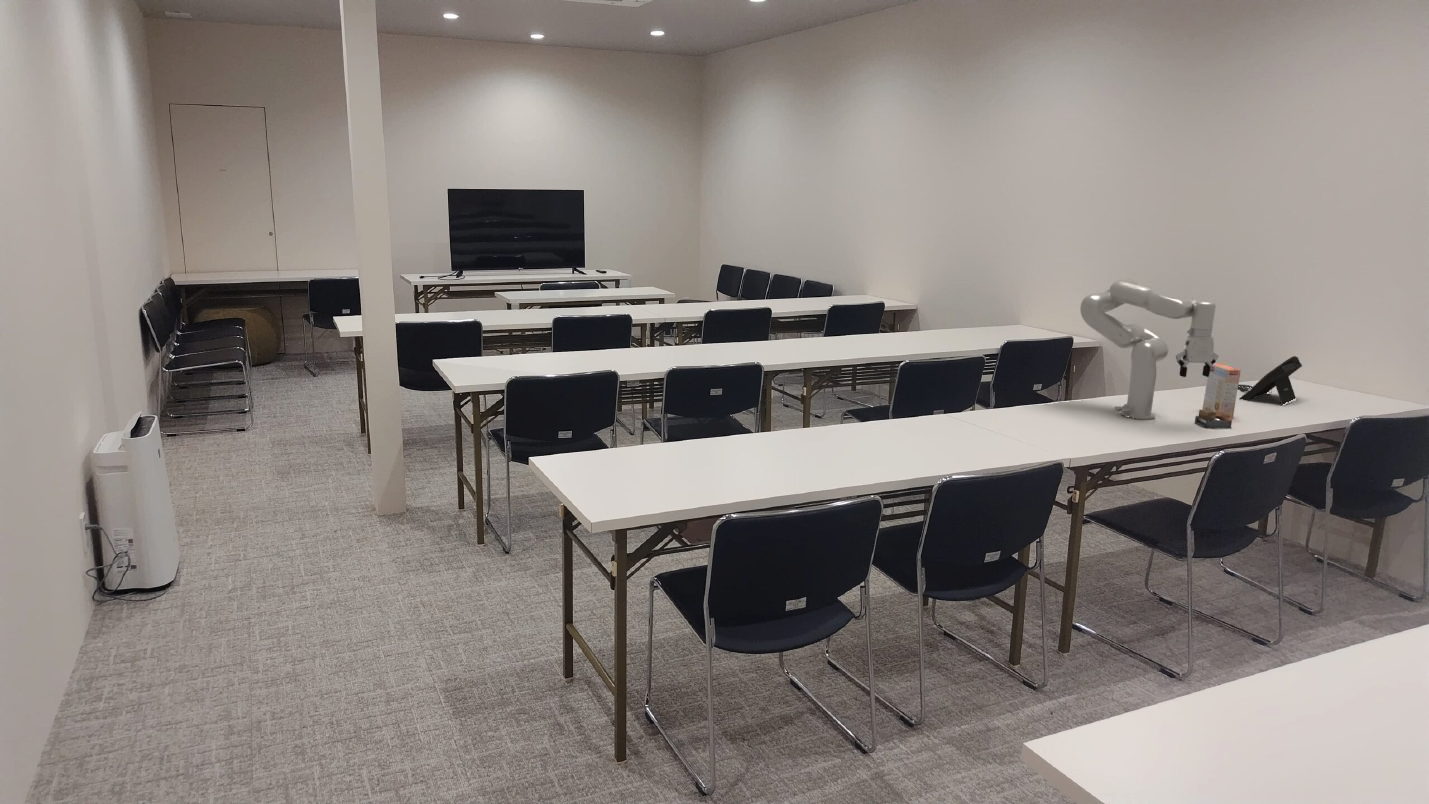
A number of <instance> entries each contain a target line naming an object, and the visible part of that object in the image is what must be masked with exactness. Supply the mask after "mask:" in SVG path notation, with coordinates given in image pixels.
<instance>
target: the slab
mask: <svg viewBox="0 0 1429 804" xmlns="http://www.w3.org/2000/svg"><path fill="white" fill-rule="evenodd" d="M1197 416H1198V417H1200V418H1202V419H1205V420H1215V417H1216V412H1214V411H1211V410H1209V409H1208V410H1202V409H1199V411H1198V415H1197Z"/></svg>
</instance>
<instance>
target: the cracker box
mask: <svg viewBox="0 0 1429 804" xmlns="http://www.w3.org/2000/svg"><path fill="white" fill-rule="evenodd" d="M1241 371H1242V370H1241V369H1239V368H1236V367H1232V366H1230V365H1227V364H1224V363H1216V362H1215V363H1214V364H1213V366H1212V367H1211V368H1210V374H1209V377H1206V378H1207V379H1206V385H1205V390H1204V391H1205V393H1204V398H1203V404H1202V409H1201V410H1208V409H1209V410H1211V411H1214V412H1216V414H1217V411H1221V412H1224V413H1226V414H1229V415H1232V416H1233V418H1232V420H1233V419H1234V413H1235V407H1236V402H1237V401H1236V400H1237V396H1238V395H1237V394H1238V390H1239V389H1238V385H1240V377H1241Z"/></svg>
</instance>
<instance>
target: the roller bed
mask: <svg viewBox="0 0 1429 804" xmlns="http://www.w3.org/2000/svg"><path fill="white" fill-rule="evenodd" d="M1198 416H1199V415H1195V417H1194V424H1196V425H1198V426H1200V425H1201V426H1200V427H1202V426H1203V428H1205V429H1207V428H1210V429H1231V428H1232V425H1233V424H1232V423H1233V419H1234V415H1233V416H1232V415H1229V414H1226V413H1224V412H1221V411H1217V414H1216V417H1215V420H1205V419H1202V418H1200V417H1198ZM1232 418H1233V419H1232Z"/></svg>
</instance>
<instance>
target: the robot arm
mask: <svg viewBox="0 0 1429 804" xmlns="http://www.w3.org/2000/svg"><path fill="white" fill-rule="evenodd" d="M1080 303H1081V304H1080V315H1081V318H1082V319H1083V321H1084V323H1086V325H1087V326H1089V327H1090V328H1091V329H1093V330H1094V331H1096V332H1097V333H1099V334H1100V335H1101V336H1103V337H1104V338H1105V339H1107V340H1108V341H1110V342H1111V343H1113V344H1114V345H1115V346H1117V347H1118V348H1120V349H1129V348H1132V349H1131V354H1130V361H1131V362H1130V363H1131V365H1130V376H1129V378H1130V379H1129V383H1128V385H1129V386H1128V392H1127V393H1128V394H1127V401H1126V403H1124V405H1122V406H1118V405H1117V406H1115V407H1114V410H1115V411H1116V412H1121V415H1122V414H1123V415H1125V416H1124V417H1126V416H1129V417H1134V418H1136V419H1135V420H1144V419H1148V420H1153V419H1155V417H1156V414H1155V413H1153V411H1152V409H1153V404H1154V403H1153V402H1154V395H1155V387H1156V381H1157V362H1160V361H1162V360H1163V359H1165V358H1166V357H1167V356H1168V354H1169V346H1168V344H1167V342H1166V341H1165V340H1164V339H1162V338H1161V337H1159V336H1158V335H1157V334H1155V333H1153V332H1152V331H1150V330H1148V329H1147V328H1145V326H1143V325H1140V324H1137V323H1134V324H1133V323H1131V324H1125V323H1124V322H1122V321H1119V319H1117V318H1115V317H1114V316H1112V315H1110V314H1108V313H1107V312H1111V311H1112V310H1115V309H1117V308H1119V307H1120V306H1122V305H1125V304H1127V305H1131V306H1134V307H1138V308H1141V309H1144V310H1146V311H1147V312H1150V313H1152V314H1155V315H1157V316H1161V317H1164V318H1168V319H1172V320H1180V319H1186V318H1191V321H1190V328H1189V329H1188V330H1187V331H1186V332H1187V333H1186V334H1188V335H1187V336H1186V340H1185V344H1184V346H1183V349H1182V350H1183V351H1182V352H1180V353H1178V354H1176V355H1175V359H1176V362H1177V363H1178V365H1179V366H1180V367H1179V376H1180V377H1182V378H1186V377H1187V373H1188V367H1187V366H1188V365H1189V364H1190V363H1194V364H1196V363H1198V364H1199V363H1200V364H1201V363H1202V364H1203V363H1204V365H1203V368H1202V374H1201V375H1202V376H1204V377H1206V378H1207V377H1209V374H1210V368H1211V367H1212V366H1213V364H1214V363H1216V362H1217V360H1218V358H1219V357H1220V356H1219V355H1218V354H1216V353H1215V352H1214V349H1215V347H1214V344H1215V343H1214V337H1213V336H1212V335H1213V334H1212V333H1213V326H1214V319H1215V314H1216V306H1217V305H1216V303H1215V302H1213V301H1209V300H1197V299H1193V298H1187V297H1186V298H1178V299H1173V298H1170V297H1167V296H1164V295H1160V294H1158V293H1157V292H1156V291H1155V289H1154V288H1152V287H1148V286H1144V285H1141V284H1139V283H1138V282H1137V281H1136V280H1133V279H1130V278H1129V279H1121V280H1117V281H1114V282H1113V283H1112V284H1111V285H1110V287H1109V289H1107V290H1105V291H1103V292H1097V293H1091V294H1089V295H1086V296H1085V297H1084V298H1083V299H1082V301H1081V302H1080ZM1123 415H1122V416H1123ZM1129 417H1128V418H1129ZM1134 418H1133V419H1134Z"/></svg>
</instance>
